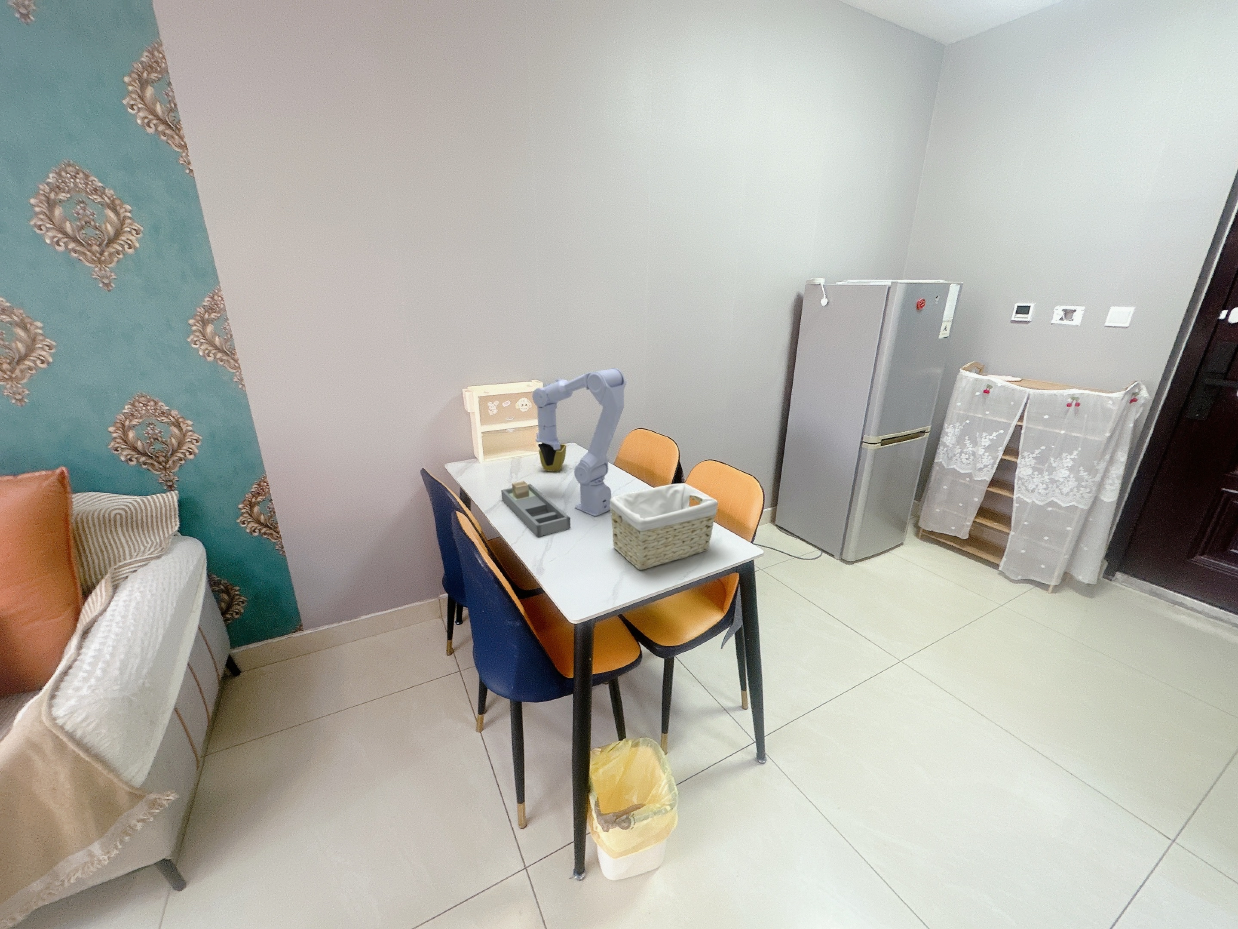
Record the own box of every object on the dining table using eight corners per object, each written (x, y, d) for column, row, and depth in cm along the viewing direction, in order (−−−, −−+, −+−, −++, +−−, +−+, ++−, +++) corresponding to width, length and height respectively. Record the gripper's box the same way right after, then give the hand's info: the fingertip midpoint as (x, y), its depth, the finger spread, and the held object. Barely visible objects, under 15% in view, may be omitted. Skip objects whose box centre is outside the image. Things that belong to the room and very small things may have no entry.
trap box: (570, 528, 138) (570, 517, 137) (537, 537, 133) (537, 526, 132) (531, 493, 162) (530, 483, 161) (502, 499, 157) (501, 490, 156)
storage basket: (680, 527, 139) (682, 479, 134) (717, 552, 126) (721, 500, 121) (607, 547, 128) (606, 496, 123) (639, 577, 115) (639, 521, 110)
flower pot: (567, 466, 188) (566, 444, 185) (562, 474, 180) (561, 451, 177) (545, 465, 189) (544, 443, 186) (539, 473, 181) (538, 450, 178)
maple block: (529, 496, 155) (528, 484, 154) (517, 499, 153) (516, 487, 152) (524, 492, 158) (523, 480, 157) (512, 494, 156) (511, 483, 155)
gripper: (526, 421, 158) (529, 460, 162) (544, 431, 146) (546, 473, 151) (546, 418, 161) (548, 457, 166) (565, 428, 150) (567, 469, 154)
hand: (549, 464), depth 158 cm, fingers closed
